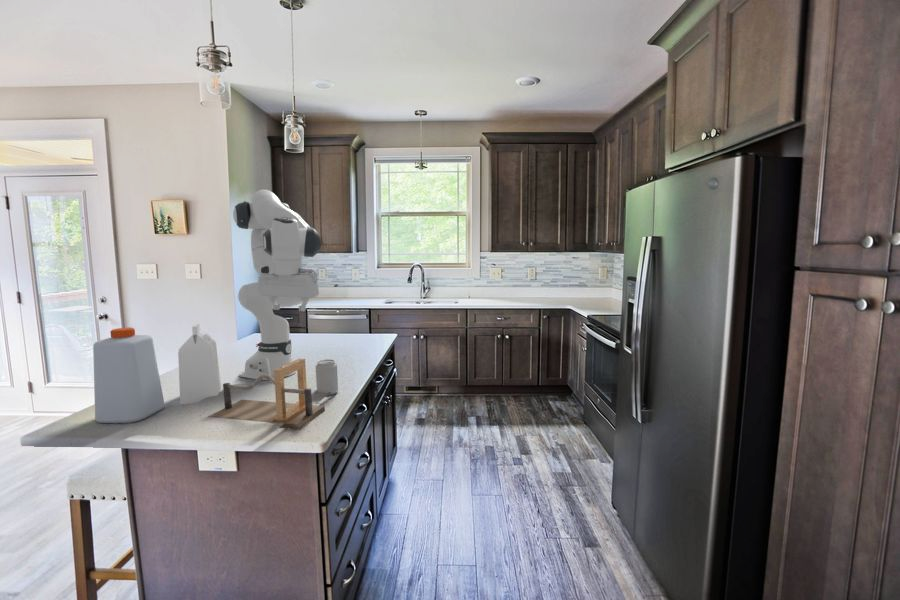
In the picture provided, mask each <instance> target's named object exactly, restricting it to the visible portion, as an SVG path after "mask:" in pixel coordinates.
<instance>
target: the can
mask: <svg viewBox="0 0 900 600" xmlns="http://www.w3.org/2000/svg"><path fill="white" fill-rule="evenodd" d="M338 377H339V376H338V364H337V362H336V360H335V359H330V358H327V359H320V360H318V361H317V362H316V365H315V380H316V381H315V382H316V392H318V393H322V394H325V393H326V394H327V393H328V394H327V395H326V397H327V396H328V397H330V396H333V395H336V393H337V392H338V391H339V381H338V380H339V378H338ZM329 395H330V396H329Z"/></svg>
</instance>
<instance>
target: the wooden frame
mask: <svg viewBox="0 0 900 600" xmlns="http://www.w3.org/2000/svg"><path fill="white" fill-rule="evenodd" d="M292 361H293V360H292ZM306 370H307V369H306V358H298V359H296V360H294V361H293V362H291V363H289V364H286V365H284V366H282V367H280V368H278V369H275V370H274V380H275V385H274V391H275V392H274V393H275V402H276V411H277V415H275V416H273V417H272V418H273V421H279V422H289V421H290V420H292V419H293V418H295V417H296V416H298V415H299V414H301V413H302V412H304V411H305V394H301V393H298V401H296V402H295V403H293V405H291V406H290V407H288V408H286V405H285V403H286V392H285V389H284V388H285V376H286V377H288V376H287V375H289V374H291V373H293V372H295V371H296V372H297V373H296V372H295V373H296V374H297V389H302V390H305V389H307V386H308V385H307V372H306Z"/></svg>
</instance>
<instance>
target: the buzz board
mask: <svg viewBox="0 0 900 600" xmlns="http://www.w3.org/2000/svg"><path fill="white" fill-rule="evenodd" d="M263 378H264V379H268V381H269V382H270V383H271V384H272V385H274V386H275V380H274V379H273V378H272V377H271V376H270V375H261V376H260V377H259V378H257V379H254V381H253V382H252V383H251V384H249V385H242V384H241V385H239V384H231V383H230V382H224V383H223V384H222V388H223V389H222V390H223V402H224V408H222V409H220V410H218V411H216V412H214V413H212V414H210V415H208V416H207V418H208V417H209V418H219V419H229V420H231V419H232V420H240V421H242V420H243V421H253V422H263V423H273V424H274V423H275V424H282V425H280V426H279V427H278V429H287V428H290V429H289V430H297V429H299V430H300V429H301V428H303V427H304V426H306V425H307V424H308V423H310V422H311V421H312V420H314V419H315V418H317V417H318V416H320V415H321V414H322V413H323V412H325V411H326V409H325V407H326V406H325V405H315V404H313V398H312V397H313V396H312V395H313V394H312V393H313V392H312V388H310V387H309V388H307V389H305V390H302V389H298V388H286V387H284V389H285V393H291V394H299V393H301V394H305V411H304V412H302V413H301V414H299V415H298V416H296V417H295V418H293V419H292V420H290V421H289V422H279V421H273V418H272V417H273V416H275V415H277V411H276V401H267V400H265V401H264V400H255V399H254V400H253V399H240V400H238V401H237V402H234V403H232V391H231V389H233V390H234V389H235V390H248V391H251V390H252V389H253V388H254V387H255V386H256V385H258V384H259V383H260V382H261V381H263V380H262V379H263ZM293 404H294V403H289V402H285V405H286V408H288V407H290V406H291V405H293ZM316 416H317V417H316ZM313 418H314V419H313ZM309 421H310V422H309ZM305 424H306V425H305Z"/></svg>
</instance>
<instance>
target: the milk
mask: <svg viewBox="0 0 900 600" xmlns="http://www.w3.org/2000/svg"><path fill="white" fill-rule="evenodd" d="M191 328H192V330H191V331H192V335H191V336H190V337H189V338H188V339H187V340H186V341H184V343H183V344H182V345H181V346H180V347H179V348H178V353H177V354H178V357H177V358H178V380H179V382H178V383H179V405H181V404H182V405H188V404H187V403H189V404H196V403H198V402H200V401H203V400H205V399H207V398H210V397H216V396H217V397H218V396H219V394H220V392H221V391H222V390H223V389H222V382H221V381H222V380H221V373H220V365H219V357H218V347H217V341H215V340H214V339H213V337H212V336H210V335H209V334H208V333H206V332H203V331H201V326H200V323H195V324H193V325H192V327H191ZM221 393H222V392H221ZM195 402H196V403H195Z"/></svg>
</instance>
